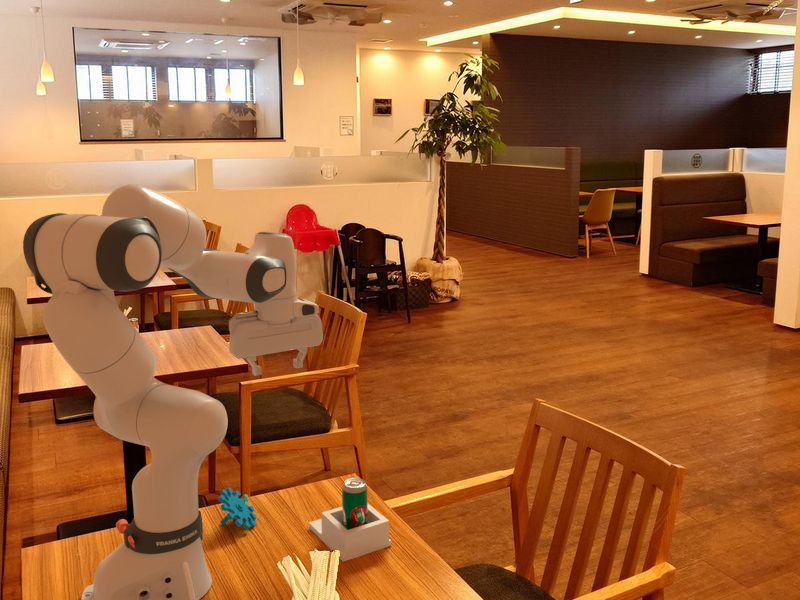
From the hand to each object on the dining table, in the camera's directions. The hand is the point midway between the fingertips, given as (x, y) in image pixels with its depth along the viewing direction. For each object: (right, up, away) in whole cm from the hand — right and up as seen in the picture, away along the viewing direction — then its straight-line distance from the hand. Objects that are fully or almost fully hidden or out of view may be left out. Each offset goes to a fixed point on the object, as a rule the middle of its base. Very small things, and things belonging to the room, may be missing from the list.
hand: (277, 371), depth 164 cm
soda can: (+17, -33, -8) cm, 38 cm away
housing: (+16, -34, -6) cm, 37 cm away
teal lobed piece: (-8, -32, -1) cm, 33 cm away
